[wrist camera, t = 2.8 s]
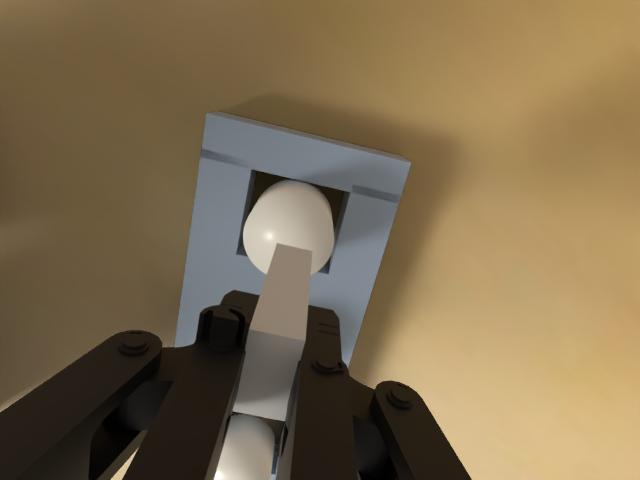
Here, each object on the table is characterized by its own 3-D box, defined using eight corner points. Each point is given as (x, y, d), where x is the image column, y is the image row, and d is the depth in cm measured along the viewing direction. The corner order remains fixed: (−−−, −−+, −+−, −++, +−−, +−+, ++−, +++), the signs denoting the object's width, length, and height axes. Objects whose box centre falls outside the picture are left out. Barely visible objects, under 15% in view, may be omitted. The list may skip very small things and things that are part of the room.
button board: (307, 471, 36) (305, 504, 33) (169, 447, 35) (156, 478, 32) (401, 155, 27) (411, 162, 24) (218, 111, 26) (206, 113, 23)
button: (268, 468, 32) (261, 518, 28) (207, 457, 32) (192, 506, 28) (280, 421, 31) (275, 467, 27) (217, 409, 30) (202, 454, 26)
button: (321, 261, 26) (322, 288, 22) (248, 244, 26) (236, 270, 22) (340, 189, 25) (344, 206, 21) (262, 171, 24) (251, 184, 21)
